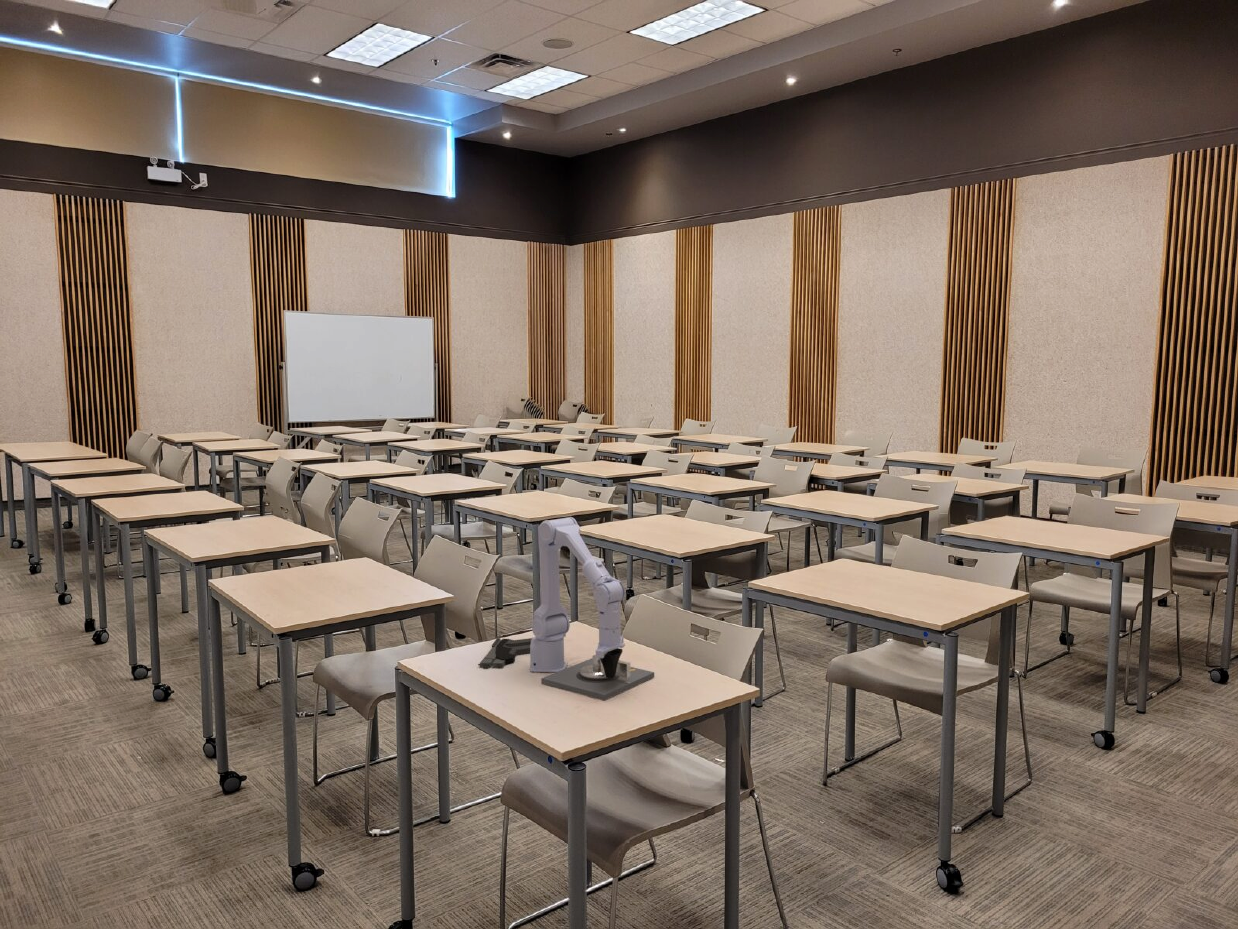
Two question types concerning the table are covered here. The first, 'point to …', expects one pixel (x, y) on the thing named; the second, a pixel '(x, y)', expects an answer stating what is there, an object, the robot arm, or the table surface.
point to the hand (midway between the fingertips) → (610, 676)
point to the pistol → (505, 652)
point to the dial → (598, 671)
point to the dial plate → (595, 681)
